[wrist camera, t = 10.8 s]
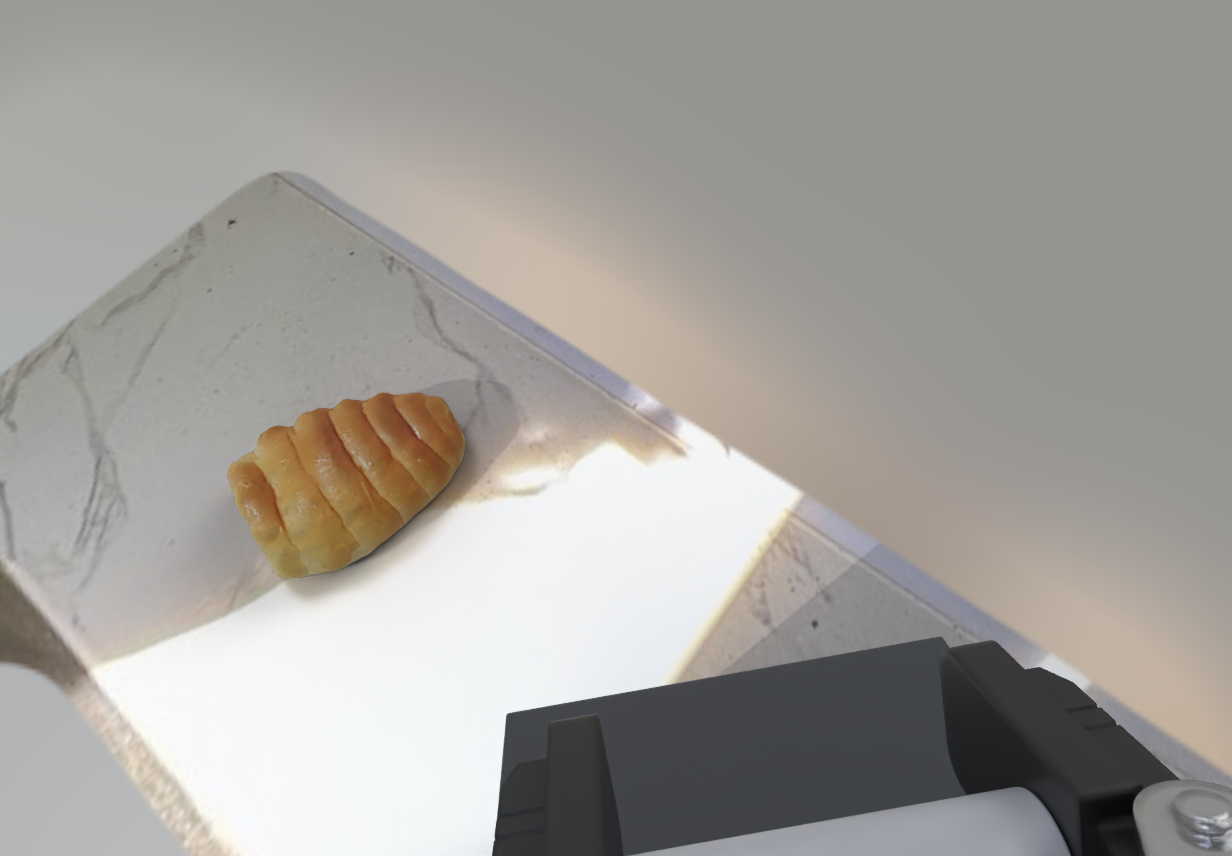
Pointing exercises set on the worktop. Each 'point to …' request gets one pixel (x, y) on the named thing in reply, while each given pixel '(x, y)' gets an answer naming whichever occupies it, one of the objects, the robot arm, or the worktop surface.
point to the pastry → (344, 479)
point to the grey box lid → (796, 764)
